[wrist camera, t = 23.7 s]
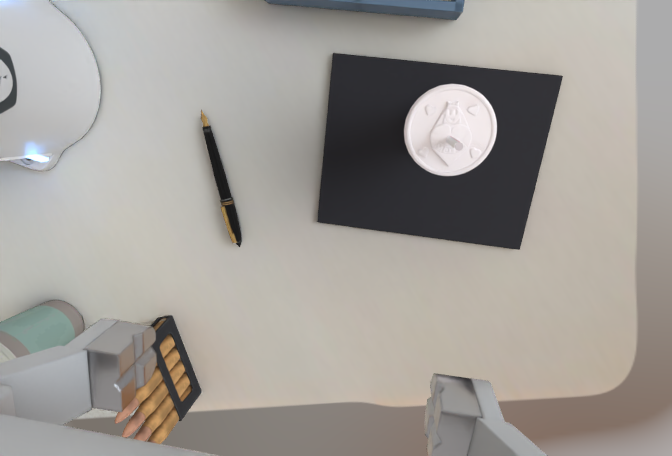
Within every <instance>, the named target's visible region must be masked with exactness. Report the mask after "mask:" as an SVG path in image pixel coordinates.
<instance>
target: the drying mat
mask: <svg viewBox="0 0 672 456" xmlns="http://www.w3.org/2000/svg"><path fill="white" fill-rule="evenodd" d="M562 77H563V76H559V75H548V74H538V73H528V72H518V71H508V70H498V69H488V68H478V67H468V66H457V65H447V64H437V63H427V62H417V61H407V60H397V59H387V58H377V57H367V56H356V55H346V54H336V53H333V60H332V71H331V82H330V92H329V103H328V114H327V125H326V135H325V146H324V157H323V167H322V178H321V189H320V200H319V210H318V221H317V222H320V223H327V224H335V225H342V226H349V227H357V228H364V229H372V230H379V231H386V232H394V233H401V234H408V235H416V236H423V237H430V238H438V239H445V240H452V241H460V242H467V243H474V244H482V245H489V246H496V247H504V248H511V249H518V250H519V249H520V246H521V242H522V238H523V234H524V230H525V226H526V222H527V218H528V214H529V210H530V206H531V202H532V198H533V194H534V190H535V186H536V182H537V177H538V173H539V169H540V165H541V161H542V157H543V153H544V149H545V145H546V141H547V137H548V133H549V129H550V125H551V121H552V117H553V113H554V109H555V105H556V101H557V97H558V93H559V89H560V85H561V81H562ZM447 84H459V85H465V86H467V87H470V88H472V89H474V90H476V91H478V92H479V93H481V94H482V95H483V96H484V97H485V98H486V99H487V100H488V101H489V103H490V104H491V106H492V108H493V110H494V113H495V116H496V121H497V133H496V139H495V142H494V145H493V147H492V149H491V151H490V153H489V154H488V156H487V157H486V158H485V159H484V160H483V161H482V162H481V163H480V164H479V165H478V166H477V167H475V168H474V169H472V170H470V171H468V172H466V173H463V174H460V175H455V176H441V175H436V174H433V173H430V172H428V171H426V170H425V169H423V168H422V167H421V166H419V165H418V164H417V163H416V162H415V161H414V159H413V158H412V157H411V155H410V154H409V152H408V149H407V147H406V144H405V138H404V126H405V120H406V117H407V115H408V113H409V111H410V108H411V107H412V106H413V104H414V103H415V102H416V100H417V99H418V98H419V97H420V96H422V95H423V94H424V93H426V92H427V91H428V90H430V89H433V88H435V87H437V86H440V85H447Z"/></svg>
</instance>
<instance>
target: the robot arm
mask: <svg viewBox="0 0 672 456" xmlns="http://www.w3.org/2000/svg"><path fill="white" fill-rule="evenodd" d="M100 96H101V85H100V76H99V71H98V67H97V63H96V60H95V57H94V55H93V52H92V50H91V48H90V46H89V44H88V42H87V41H86V39H85V37H84V36H83V34H82V33H81V32H80V30H79V29H78V28H77V27H76V26H75V24H74V23H73V22H72V21H71V20H70V19H69V18H68V17H67V16H65V15H64V14H63V13H62V12H60V11H59V10H58V9H57V8H56V7H55V6H53V5H52V4H51V2H50V1H49V0H0V161H5V160H7V161H10V162H13V163H16V164H19V165H22V166H24V167H27V168H30V169H33V170H37V171H47V170H50V169H52V168H53V167H54V166H55V164H56V163H57V161H58V159H59V158H60V156H61V154H62V152H63V151H64V150H65V149H66V148H68V147H69V146H71V145H72V144H74V143H75V142H77V141H78V140H80V139H81V138H82V137H83V136H84V135H85V134H86V133H87V132H88V130H89V129H90V127H91V126H92V124H93V122H94V120H95V118H96V115H97V112H98V109H99V104H100ZM155 341H156V333H155V329H154V328H153V327H152V326H147V325H141V324H136V323H131V322H125V321H119V320H114V319H108V318H104V319H100V320H99V321H97V322H96V323H95V324H93V325H92V326H91V327H89V328H88V329H87V330H85V331H84V332H83V333H81V334H80V335H79V336H77V337H76V338H75V339H73V340H72V341H71V342H69V343H68V344H67V345H65V346H56V347H52V348H49V349H46V350H42V351H39V352H35V353H32V354H29V355H25V356H22V357H19V358H15V359H12V360H9V361H5V362H2V363H0V456H220V455H215V454H209V453H204V452H198V451H194V450H188V449H183V448H178V447H173V446H167V445H162V444H157V443H152V442H146V441H141V440H136V439H130V438H126V437H120V436H114V435H109V434H105V433H99V432H94V431H88V430H84V429H78V428H73V427H67V426H63V425H64V424H66V423H68V422H70V421H71V420H73V419H75V418H77V417H79V416H81V415H82V414H84V413H86V412H88V411H90V410H92V408H97V409H103V410H110V411H116V412H123V410H124V409H125V408H126V407H127V406H128V405H129V404H130V402H131V401H132V400H133V399H134V398H135V397H136V389H138V388H141V387H143V386H145V385H146V384H147V383H148V381H149V380H150V379H151V377H152V375H153V372H154V370H155V367H156V361H157V357H156V352H155V350H154V349H153V347H152V346H151V345H152V344H153V343H154V342H155ZM430 388H431V397H430V398H429V399H427V405H426V411H425V435H426V437H427V438H428V444H427V456H548V455H546V454H545V453H544V452H543V451H542V450H541V449H539V448H538V447H537V446H536V445H535V444H534V443H533V442H531V441H530V440H529V439H528V438H527V437H525V436H524V435H523V434H522V433H521V432H520V431H519V430H518V429H516V428H515V427H514V426H513V425H512V424H511V423H507V422H505V421H504V419H503V416H502V413H501V410H500V407H499V404H498V402H497V399H496V396H495V393H494V390H493V388H492V385H491V383H490V382H489V381H487V380H479V379H471V378H470V379H469V378H462V377H455V376H449V375H442V374H435V373H434V374H433V376H432V380H431V384H430Z"/></svg>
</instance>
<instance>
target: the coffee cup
mask: <svg viewBox="0 0 672 456" xmlns="http://www.w3.org/2000/svg"><path fill="white" fill-rule="evenodd" d="M83 331H84V324H83V320H82V317H81V315H80V314H79V312H78V311H77V310H76V309H75V308H74V307H73V306H71V305H70V304H68V303H66V302H63V301H60V300H52V301H48V302H46V303H44V304H41V305H39V306H36V307H34V308H32V309H29V310H27V311H25V312H23V313H20V314H18V315H16V316H13V317H11V318H9V319H6V320H4V321H2V322H0V363H2V362H5V361H9V360H12V359H15V358H19V357H22V356H25V355H29V354H32V353H35V352H39V351H42V350H46V349H49V348H52V347H56V346H65V345H67V344H68V343H69V342H71V341H72V340H73V339H75V338H76V337H77V336H79V335H80V334H81V333H83Z"/></svg>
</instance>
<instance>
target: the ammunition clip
mask: <svg viewBox="0 0 672 456" xmlns="http://www.w3.org/2000/svg"><path fill="white" fill-rule="evenodd" d="M151 326H152V327H153V328H154V329H155V333H156V341H155V342H154V343H153V344H152V345H151V346H152V347H153V349H154V350H155V352H156V357H157V361H156V367H155V370H154V372H153V375H152V377H151V379H150V380H149V381H148V383H147V384H146V385H145V386H143V387H141V388H138V389H136V397H135V398H134V399H133V400H132V401H131V402H130V404H129V405H128V406H127V407H126V408H125V409H124V410H123V412H118V414H117V416H116V419H115V424H117V423H119V422H121V421H122V420H124V419H125V418H127V417H128V416H129V415H130V414H131V413H132V412H133V411H134V410H135V409H136V408H137V407H138V406H139V405H140V406H139V408H138V409H137V410H136V412H135V413H134V415H133V416H132V417H131V419H130V420H129V422H128V423H127V425H126V427H125V429H124V431H123V434H122V437H126V438H127V437H128V436H129V435H131V434H132V433H133V432H134V431H136V430H137V428H138V427H139V426H140V425H141V424H142V423H143V421H145V422H144V424H143V425H142V427H141V428H140V430H139V431H138V433H137V434H136V436H135V437H134V439H136V440H141V441H146V440H147V439H148V438H149V436H150V435H151V436H150V438H149V440H148V441H147V442H152V443H157V444H161V443H162V442H163V441H164V440H165V439H166V438H167V436H168V435H169V433H170V432H171V431H172V429H173V428H174V426H175V425H176V423H177V422H178V420H179V421H181V420H182V419H183V418H184V416H185V415H186V413H187V412H188V410H189V409H190V408H191V406H192V405H193V403H194V402H195V401H196V399H197V398H198V396H199V395H200V394H201V389H200V386H199V384H198V381H197V379H196V376H195V374H194V371H193V368H192V366H191V363H190V361H189V358H188V355H187V353H186V350H185V348H184V345H183V343H182V340H181V337H180V335H179V332H178V330H177V327H176V324H175V322H174V319H173V317H172V316H165V317H160V318H157V319H156V320H155V322H154V323H153V324H152V325H151Z"/></svg>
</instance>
